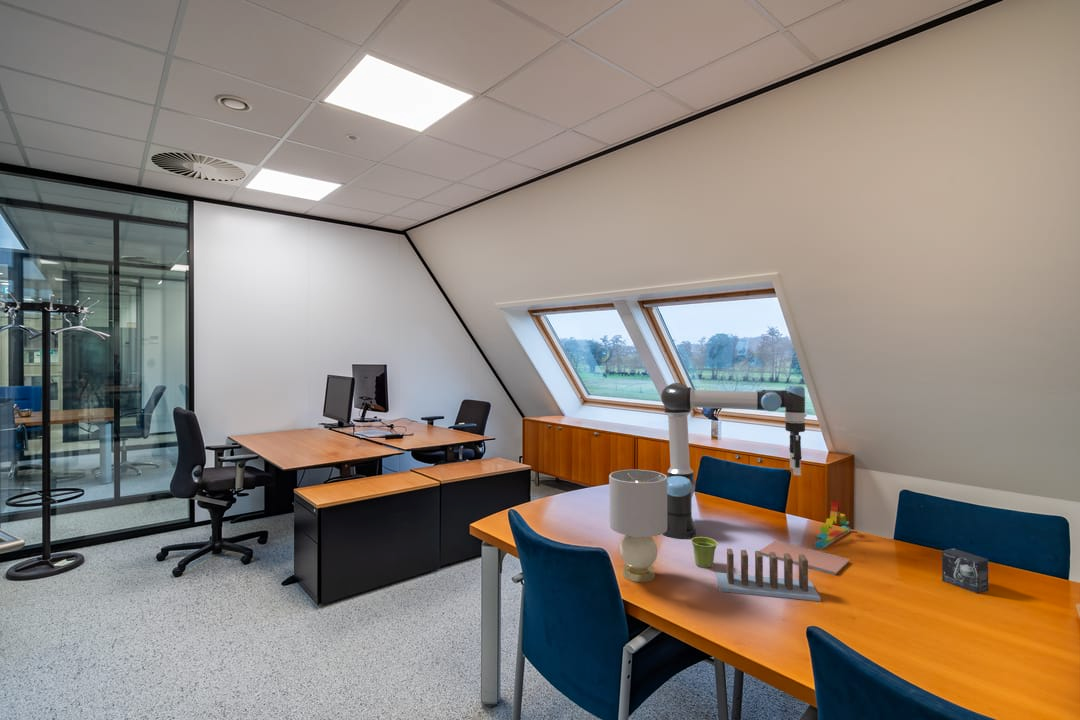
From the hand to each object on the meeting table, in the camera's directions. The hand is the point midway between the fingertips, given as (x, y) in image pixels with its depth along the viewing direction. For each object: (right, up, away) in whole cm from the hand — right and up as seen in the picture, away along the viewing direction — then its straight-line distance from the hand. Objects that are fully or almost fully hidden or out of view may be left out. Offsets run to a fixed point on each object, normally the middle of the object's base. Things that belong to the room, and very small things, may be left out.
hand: (795, 471), depth 217 cm
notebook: (-9, -29, -24) cm, 38 cm away
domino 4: (-32, -27, -49) cm, 64 cm away
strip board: (-34, -28, -48) cm, 65 cm away
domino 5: (-27, -27, -50) cm, 63 cm away
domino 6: (-23, -27, -51) cm, 62 cm away
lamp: (-74, -29, -38) cm, 88 cm away
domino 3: (-36, -27, -48) cm, 65 cm away
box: (+33, -28, -48) cm, 64 cm away
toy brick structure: (+14, -28, -4) cm, 31 cm away
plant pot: (-48, -28, -29) cm, 63 cm away
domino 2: (-40, -27, -46) cm, 67 cm away
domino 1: (-45, -27, -45) cm, 69 cm away
